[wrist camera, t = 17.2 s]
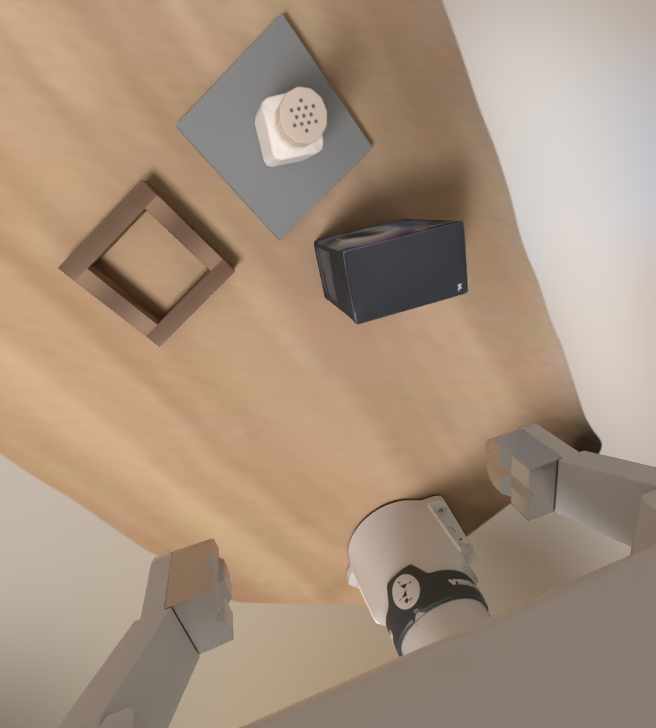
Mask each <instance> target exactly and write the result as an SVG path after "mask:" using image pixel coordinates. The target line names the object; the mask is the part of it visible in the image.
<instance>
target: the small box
mask: <svg viewBox="0 0 656 728" xmlns="http://www.w3.org/2000/svg"><path fill="white" fill-rule="evenodd" d="M465 246H466V245H465V230H464V222H463V221H443V220H417V219H404V220H399V221H395V222H391V223H387V224H382V225H378V226H374V227H370V228H365V229H361V230H357V231H353V232H349V233H345V234H341V235H337V236H333V237H329V238H325V239H322V240H318V241H315V242H314V247H315V252H316V257H317V262H318V267H319V272H320V276H321V281H322V286H323V291H324V296H325V298H326V299H327V300H329V301H330V302H332V303H333V304H334V305H335V306H336V307H338V308H339V309H340V310H341V311H343V312H344V313H345V314H346V315H348V316H349V317H350V318H351V319H352V320H353V321H354V322H355V323H356V324H361V323H365V322H368V321H372V320H375V319H379V318H382V317H386V316H389V315H393V314H396V313H400V312H403V311H407V310H410V309H414V308H417V307H421V306H424V305H427V304H431V303H435V302H438V301H442V300H445V299H449V298H452V297H455V296H459V295H462V294H466V293H467V292H468V281H467V264H466V247H465Z"/></svg>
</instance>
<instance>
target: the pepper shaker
mask: <svg viewBox="0 0 656 728" xmlns="http://www.w3.org/2000/svg"><path fill="white" fill-rule="evenodd" d="M255 126H256V131H257V135H258V139H259V143H260V147H261V151H262V156H263V160H264V162H265V163H266V165H267V166H270V167H275V166H280V165H284V164H289V163H294V162H299V161H303V160H305V159H307V158H309V157H311V156H313V155H315V154H317V153H318V152H320V151H321V150H322V147H323V135H322V133H323V132H324V130H325V128H326V126H327V110H326V107H325V105H324V102H323V100H322V98H321V97H320V96H319V95H318V94H317V93H316V92H315V91H313V90H312V89H311V88H305V87H299V86H298V87H296V88H294V89H292V90H290V91H289V92H287V93H285V94H280V95H275V96H271V97H267V98H266V99H265V100H264V101H263V102H262V104H261V106H260V108H259V110H258V112H257V114H256V117H255Z"/></svg>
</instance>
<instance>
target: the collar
mask: <svg viewBox="0 0 656 728" xmlns="http://www.w3.org/2000/svg"><path fill="white" fill-rule="evenodd" d="M146 210H147V211H148V212H149V213H150V214H151V215H152V216H153V217H154V218H155V219H156V220H157V221H158V222H159V223H161V224H162V225H163V226H164V227H165V228H166V229H167V230H168V231H169V232H170V233H171V234H172V235H173V236H174V237H175V238H176V239H177V240H179V241H180V242H181V243H182V244H183V245H184V246H185V247H186V248H187V249H188V250H189V251H190V252H191V253H192V254H193V255H194V256H195V257H197V258H198V259H199V260H200V261H201V262H202V263H203V264H204V265H205V266H206V267H207V268H208V269H209V270H208V271H207V272H206V273H205V274H204V275H203V276H202V277H201V278H200V279H199V280H198V281H197V282H196V283H195V284H194V285H193V286H192V287H191V288H190V289H189V290H188V291H187V292H186V293H185V294H184V295H183V296H182V297H181V298H180V300H179V301H178V302H177V303H176V304H175V305H174V306H173V307H172V308H171V309H170V310H169V311H168V312H167V313H166V314H165V315H164V316H163V317H162V318H161V319H159V318H158V317H157V316H156V315H154V314H153V313H152V312H151V311H149V310H148V309H147V308H146V307H145V306H143V305H142V304H141V303H140V302H138V301H137V300H136V299H135V298H133V297H132V296H131V295H130V294H128V293H127V292H126V291H125V290H124V289H122V288H121V287H120V286H119V285H117V284H116V283H115V282H114V281H112V280H111V279H110V278H109V277H108V276H106V275H105V274H104V273H103V272H101V271H100V270H99V269H98V268H96V267H95V266H94V265H95V264H96V262H97V261H98V260H99V259H100V258H101V257H102V256H103V255H104V254H105V253H106V252H107V251H108V250H109V249H110V248H111V247H112V246H113V245H114V244H115V243H116V242H117V241H118V240H119V238H120V237H121V236H122V235H123V234H124V233H125V232H126V231H127V230H128V229H129V228H130V227H131V226H132V225H133V224H134V223H135V222H136V221H137V220H138V219H139V218H140V217H141V216H142V215H143V213H144V212H145V211H146ZM58 269H60V270H61V271H62V272H63V273H65V274H66V275H67V276H69V277H70V278H71V279H73V280H74V281H75V282H76V283H78V284H79V285H80V286H82V287H83V288H84V289H86V290H87V291H88V292H89V293H91V294H92V295H93V296H95V297H96V298H97V299H98V300H100V301H101V302H102V303H104V304H105V305H106V306H108V307H109V308H110V309H111V310H113V311H114V312H115V313H117V314H118V315H119V316H121V317H122V318H123V319H124V320H126V321H127V322H128V323H130V324H131V325H132V326H133V327H135V328H136V329H137V330H139V331H140V332H141V333H143V334H144V335H145V336H146V337H148V338H149V339H150V340H152V341H153V342H154V343H156V344H157V345H158V346H159V347H160V346H161V345H162V344H163V343H164V342H165V341H166V340H167V339H168V338H169V337H170V336H171V335H172V334H173V333H174V332H175V331H176V330H177V329H178V328H179V327H180V326H181V325H182V324H183V323H184V322H185V321H186V320H187V319H188V318H189V317H190V316H191V315H192V314H193V313H194V312H195V311H196V310H197V309H198V308H199V307H200V306H201V305H202V304H203V303H204V302H205V301H206V300H207V299H208V298H209V297H210V296H211V295H212V294H213V293H214V292H215V291H216V290H217V289H218V288H219V287H220V286H221V285H222V284H223V283H224V282H225V281H226V280H227V279H228V278H229V277H230V276H231V275H232V274H233V273H234V272H235V270H234V268H233V267H232V266H231V265H230V264H229V263H228V262H227V261H226V260H225V259H224V258H223V257H222V256H221V255H220V254H219V253H218V252H217V251H216V250H215V249H214V248H213V247H212V246H211V245H210V244H209V243H208V242H207V241H206V240H205V239H204V238H203V237H202V236H201V235H200V234H199V233H198V232H197V231H196V230H194V229H193V228H192V227H191V226H190V225H189V224H188V223H187V222H186V221H185V220H184V219H183V218H182V217H181V216H180V215H179V214H178V213H177V212H176V211H175V210H174V209H173V208H172V207H171V206H170V205H169V204H168V203H167V202H166V201H165V200H164V199H163V198H162V197H161V196H160V195H159V194H158V193H157V192H156V191H155V190H154V189H153V188H152V187H151V186H150V185H149V184H148V183H147V182H146V181H143V180H141V181H140V182H139V183H138V184H137V185H136V186H135V187H134V188H133V190H132V191H131V192H130V193H129V194H128V195H127V196H126V197H125V198H124V199H123V200H122V201H121V202H120V203H119V204H118V205H117V206H116V207H115V208H114V210H113V211H112V212H111V213H110V214H109V215H108V216H107V217H106V218H105V219H104V220H103V221H102V222H101V223H100V224H99V225H98V226H97V227H96V228H95V229H94V231H93V232H92V233H91V234H90V235H89V236H88V237H87V238H86V239H85V240H84V241H83V242H82V243H81V244H80V245H79V246H78V247H77V248H76V249H75V251H74V252H73V253H72V254H71V255H70V256H69V257H68V258H67V259H66V260H65V261H64V262H63V263H62V264H61V265H60V266H59V267H58Z"/></svg>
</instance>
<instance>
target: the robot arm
mask: <svg viewBox="0 0 656 728" xmlns="http://www.w3.org/2000/svg"><path fill="white" fill-rule="evenodd" d="M486 452H487V453H489V454H490V455H491V456H490V457H489V459H488V461H487V463H486V466H487V473H488V476H489V478H490V481H491V482H492V484H493V485H494V487H495V488H496V489H497V490H498V491H499V492H500V493H501V494H504V495H507V496H510V497H511V504H512V505H513V506H514V507H515V508H516V509H517V510H518V511H519V512H520V513H521V514H522V515H523V516H524V517H525V518H526V519H527V520H528V521H529V520H531V519H534V518H537V517H539V516H542V515H545V514H548V513H550V512H553V511H555V513H557V514H560V515H562V516H564V517H566V518H569V519H571V520H573V521H575V522H578V523H580V524H582V525H584V526H587V527H589V528H591V529H593V530H595V531H598V532H600V533H602V534H605V535H607V536H609V537H612V538H613V539H616V540H618V541H620V542H622V543H625V544H627V545H629V546H631V547H632V548H631V553H630V555H629V556H627V557H625V558H623V559H621V560H618V561H616V562H614V563H611V564H609V565H607V566H605V567H602V568H600V569H598V570H595V571H593V572H591V573H589V574H587V575H584V576H582V577H580V578H577V579H575V580H573V581H571V582H569V583H566V584H564V585H561V586H559V587H557V588H555V589H552V590H550V591H548V592H546V593H543V594H541V595H539V596H537V597H534V598H532V599H530V600H528V601H526V602H523V603H521V604H519V605H516V606H514V607H512V608H510V609H507V610H505V611H503V612H501V613H498V614H496V615H494V616H491V615H490V614H489V612H488V606H487V604H486V602H485V599H484V597H483V595H482V593H481V592H480V590H479V589H478V587H477V584H478V578H477V576H476V575H475V573H474V572H473V570H472V569H471V567H470V566H469V564H470V563H472V562H473V561H475V560H477V559H478V556H477V554H476V553H475V552H474V549H473V547H472V546H471V544H470V542H469V541H468V539H467V537H466V536H465V534H464V532H463V531H462V529H461V527H460V526H459V524H458V522H457V521H456V519H455V517H454V516H453V514H452V512H451V511H450V509H449V507H448V506H447V504H446V502H445V501H444V499H443V498H442V497H441V496H433V497H429V498H426V499H423V500H405V501H399V502H394V503H391V504H388V505H386V506H384V507H382V508H380V509H378V510H377V511H375V512H373V513H372V514H371V515H369V516H368V517H367V518H366V519H365V520H364V521H363V522H362V523H361V524H360V525H359V526H358V528H357V529H356V531H355V532H354V534H353V536H352V538H351V541H350V544H349V559H350V566H349V568H348V571H347V575H346V579H347V581H348V583H349V584H350V585H351V586H353V587H357V588H359V589H360V591H361V593H362V595H363V598H364V600H365V602H366V604H367V606H368V608H369V610H370V612H371V615H372V617H373V619H374V620H375V622H376V623H378V624H381V625H383V626H386V627H387V629H388V632H389V634H390V639H391V641H392V644H393V646H394V648H395V649H396V650H397V652H398V654H399V656H400V657H399V658H396V659H394V660H392V661H390V662H387V663H385V664H383V665H381V666H378V667H376V668H374V669H371V670H369V671H367V672H365V673H362V674H360V675H358V676H356V677H353V678H351V679H349V680H347V681H344V682H342V683H340V684H338V685H335V686H333V687H331V688H328V689H326V690H324V691H322V692H319V693H317V694H315V695H313V696H310V697H308V698H306V699H304V700H301V701H300V702H297V703H294V704H292V705H290V706H288V707H285V708H283V709H281V710H279V711H276V712H274V713H272V714H270V715H268V716H265V717H263V718H261V719H258V720H256V721H254V722H252V723H249V724H247V725H245V726H242V727H240V728H656V467H652V466H648V465H643V464H639V463H635V462H630V461H626V460H622V459H618V458H613V457H609V456H604V455H600V454H596V453H592V452H587V451H581V452H578V451H577V450H575V449H574V448H572V447H571V446H569V445H568V444H566V443H565V442H563V441H562V440H560V439H559V438H557V437H556V436H554V435H553V434H551V433H550V432H548V431H547V430H545V429H544V428H542V427H541V426H539V425H537V424H534V423H531V424H529V425H526V426H523V427H521V428H518V429H517V430H513V431H510V432H507V433H505V434H502V435H499V436H497V437H494V438H491V439H488V440H487V443H486ZM231 598H232V589H231V581H230V576H229V572H228V569H227V566H226V563H225V561H224V559H221V558H219V548H218V546H217V544H216V542H215V540H214V539H209V540H206V541H203V542H200V543H197V544H194V545H191V546H188V547H185V548H182V549H179V550H176V551H174V552H172V553H168V554H165V555H162V556H159V557H156V558H154V560H153V561H152V563H151V566H150V572H149V577H148V582H147V587H146V593H145V598H144V604H143V609H142V615H141V619H139V620H137V621H134V623H133V624H132V625H131V627H130V628H129V630H128V631H127V632H126V634H125V635H124V637H123V638H122V639H121V641H120V642H119V643H118V645H117V646H116V647H115V649H114V650H113V652H112V653H111V654H110V656H109V657H108V658H107V660H106V662H105V663H104V664H103V665H102V667H101V668H100V670H99V671H98V672H97V674H96V675H95V677H94V678H93V679H92V681H91V682H90V684H89V685H88V686H87V688H86V689H85V690H84V692H83V693H82V694H81V696H80V697H79V699H78V700H77V701H76V703H75V704H74V706H73V707H72V709H71V710H70V711H69V712H68V714H67V715H66V717H65V718H64V719H63V721H62V722H61V724H60V725H59V726H58V728H168V726H169V724H170V722H171V720H172V717H173V715H174V713H175V711H176V709H177V706H178V704H179V702H180V700H181V697H182V695H183V693H184V691H185V688H186V686H187V684H188V681H189V679H190V677H191V675H192V672H193V670H194V668H195V666H196V664H197V661H198V659H199V654H201V653H204V652H206V651H208V650H211V649H213V648H215V647H218V646H220V645H222V644H224V643H226V642H229V641H231V640H233V614H232V611H231V609H230V607H229V605H228V603H229V601H230V600H231Z"/></svg>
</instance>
